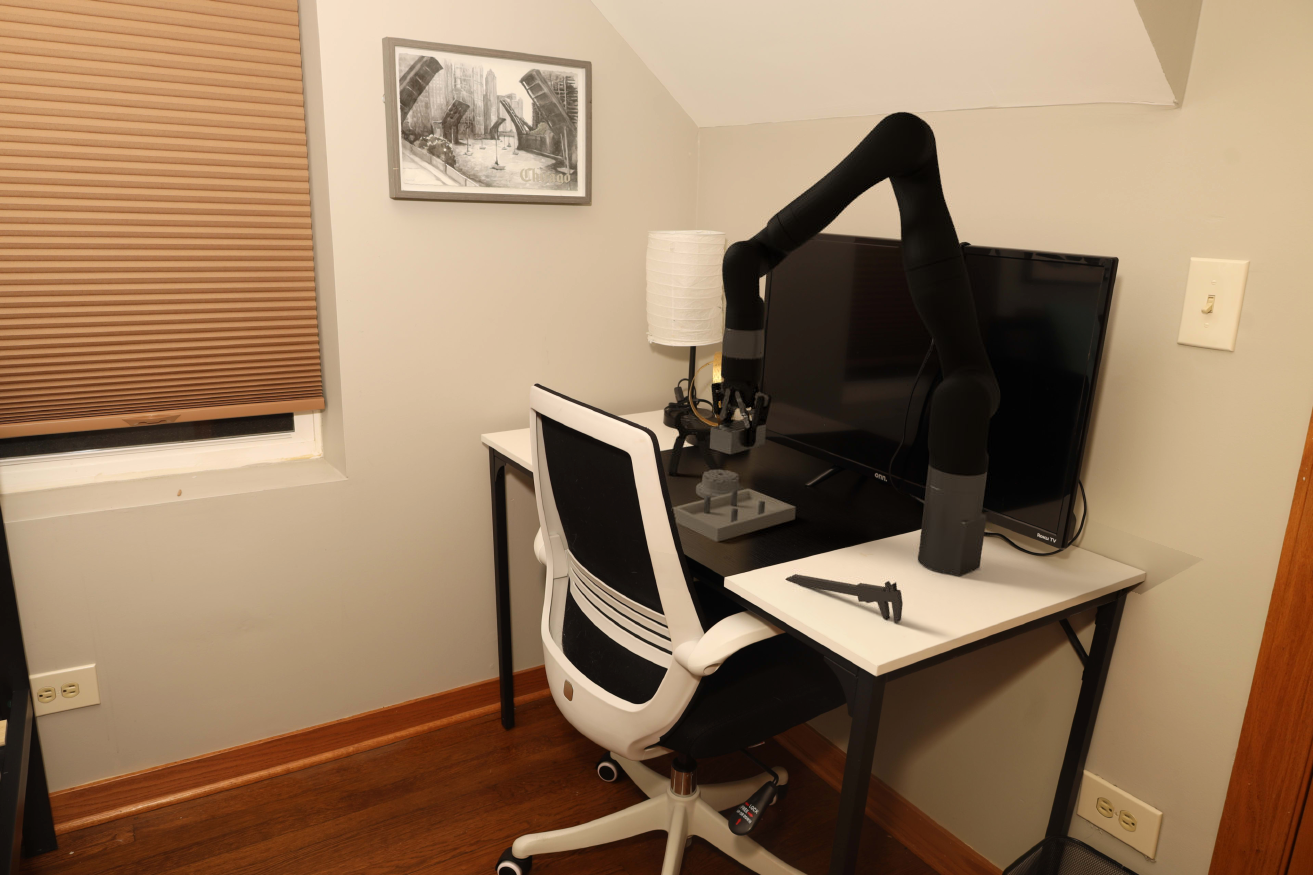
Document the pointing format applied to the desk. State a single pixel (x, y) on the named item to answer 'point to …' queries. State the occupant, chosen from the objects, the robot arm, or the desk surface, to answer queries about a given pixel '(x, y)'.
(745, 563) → the desk surface
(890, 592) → the caliper
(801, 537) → the desk surface
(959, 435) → the robot arm
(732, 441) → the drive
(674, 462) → the hand grip strengthener
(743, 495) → the pin tray
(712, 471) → the mechanical component
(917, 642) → the desk surface
